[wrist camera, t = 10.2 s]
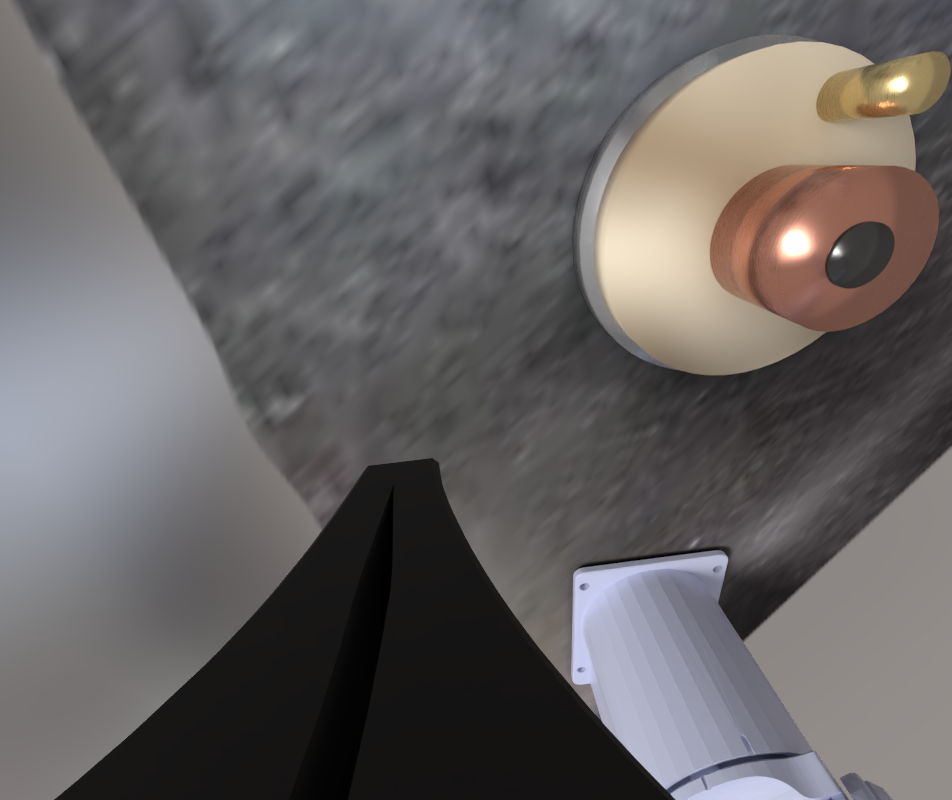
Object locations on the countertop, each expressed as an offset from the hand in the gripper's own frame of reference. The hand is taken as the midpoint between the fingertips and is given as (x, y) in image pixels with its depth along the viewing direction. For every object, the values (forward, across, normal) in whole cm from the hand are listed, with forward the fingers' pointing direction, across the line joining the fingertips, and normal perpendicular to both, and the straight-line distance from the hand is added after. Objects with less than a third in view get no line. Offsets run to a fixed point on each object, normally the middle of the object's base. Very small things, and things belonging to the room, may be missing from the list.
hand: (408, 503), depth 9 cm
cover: (+7, -12, -3) cm, 14 cm away
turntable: (+8, -11, -3) cm, 14 cm away
